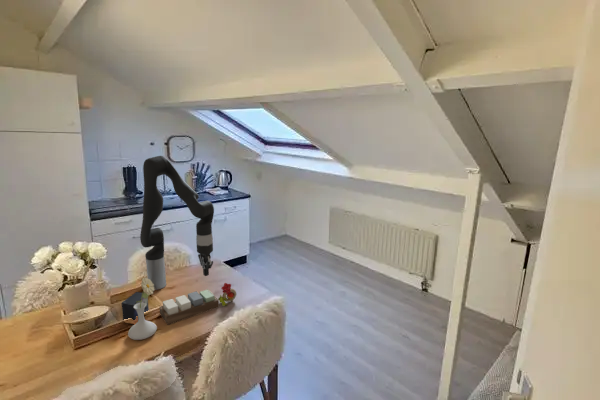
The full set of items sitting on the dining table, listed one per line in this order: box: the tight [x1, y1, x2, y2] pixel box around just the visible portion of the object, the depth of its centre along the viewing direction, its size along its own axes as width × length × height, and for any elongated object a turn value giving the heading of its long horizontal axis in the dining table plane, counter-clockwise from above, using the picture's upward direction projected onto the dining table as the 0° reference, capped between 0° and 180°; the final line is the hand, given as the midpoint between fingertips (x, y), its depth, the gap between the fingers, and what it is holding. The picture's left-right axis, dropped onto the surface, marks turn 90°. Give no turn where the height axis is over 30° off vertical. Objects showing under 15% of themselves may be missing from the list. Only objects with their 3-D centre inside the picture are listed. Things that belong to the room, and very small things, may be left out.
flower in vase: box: [127, 277, 158, 341], centre depth 143 cm, size 13×11×25 cm
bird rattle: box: [217, 282, 237, 307], centre depth 170 cm, size 6×11×9 cm
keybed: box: [159, 296, 220, 326], centre depth 163 cm, size 11×25×4 cm, turn 129°
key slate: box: [187, 291, 203, 307], centre depth 164 cm, size 8×4×4 cm, turn 39°
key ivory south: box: [162, 298, 178, 316], centre depth 157 cm, size 8×4×4 cm, turn 39°
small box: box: [121, 291, 150, 321], centre depth 156 cm, size 11×6×10 cm, turn 168°
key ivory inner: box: [175, 294, 191, 311], centre depth 161 cm, size 8×4×4 cm, turn 39°
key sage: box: [199, 289, 216, 303], centre depth 168 cm, size 8×4×4 cm, turn 39°
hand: (206, 275), depth 165 cm, fingers closed
